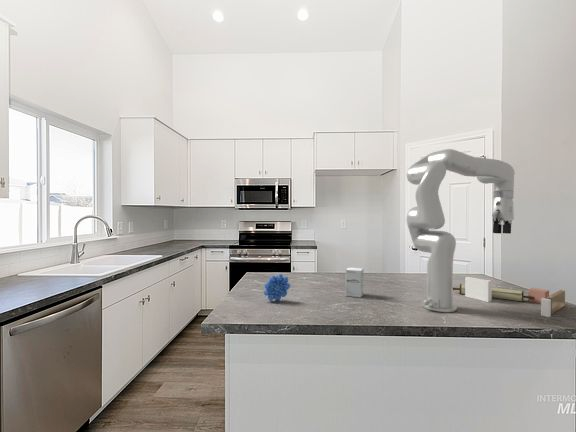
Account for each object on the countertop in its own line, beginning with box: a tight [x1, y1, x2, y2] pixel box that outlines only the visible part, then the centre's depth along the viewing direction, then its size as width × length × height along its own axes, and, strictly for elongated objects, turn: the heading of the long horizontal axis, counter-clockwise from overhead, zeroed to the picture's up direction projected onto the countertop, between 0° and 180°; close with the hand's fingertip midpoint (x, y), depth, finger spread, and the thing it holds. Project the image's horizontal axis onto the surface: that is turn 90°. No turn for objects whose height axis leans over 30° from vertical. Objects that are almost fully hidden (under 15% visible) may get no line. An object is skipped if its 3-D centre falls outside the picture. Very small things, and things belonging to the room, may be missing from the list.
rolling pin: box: [453, 283, 534, 303], centre depth 146 cm, size 32×6×5 cm, turn 56°
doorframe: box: [464, 276, 552, 318], centre depth 134 cm, size 5×33×9 cm, turn 31°
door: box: [546, 289, 566, 315], centre depth 127 cm, size 2×21×6 cm, turn 127°
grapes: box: [263, 273, 291, 302], centre depth 140 cm, size 12×7×12 cm, turn 95°
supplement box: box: [344, 267, 364, 299], centre depth 150 cm, size 7×7×13 cm
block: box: [527, 287, 550, 305], centre depth 139 cm, size 4×6×6 cm
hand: (501, 233), depth 142 cm, fingers open, 9 cm apart
